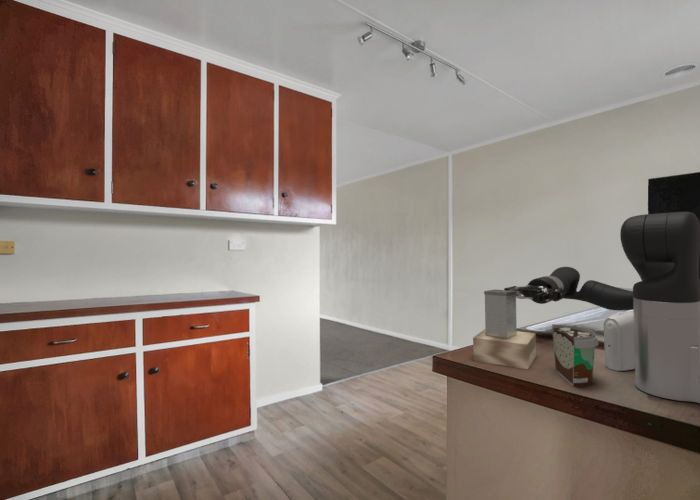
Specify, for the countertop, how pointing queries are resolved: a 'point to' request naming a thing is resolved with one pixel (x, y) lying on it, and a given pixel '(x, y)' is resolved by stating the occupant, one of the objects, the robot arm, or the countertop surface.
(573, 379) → the food container
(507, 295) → the tin canister
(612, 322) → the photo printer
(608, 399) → the countertop surface
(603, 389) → the countertop surface
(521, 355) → the beech block
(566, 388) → the countertop surface
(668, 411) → the countertop surface
